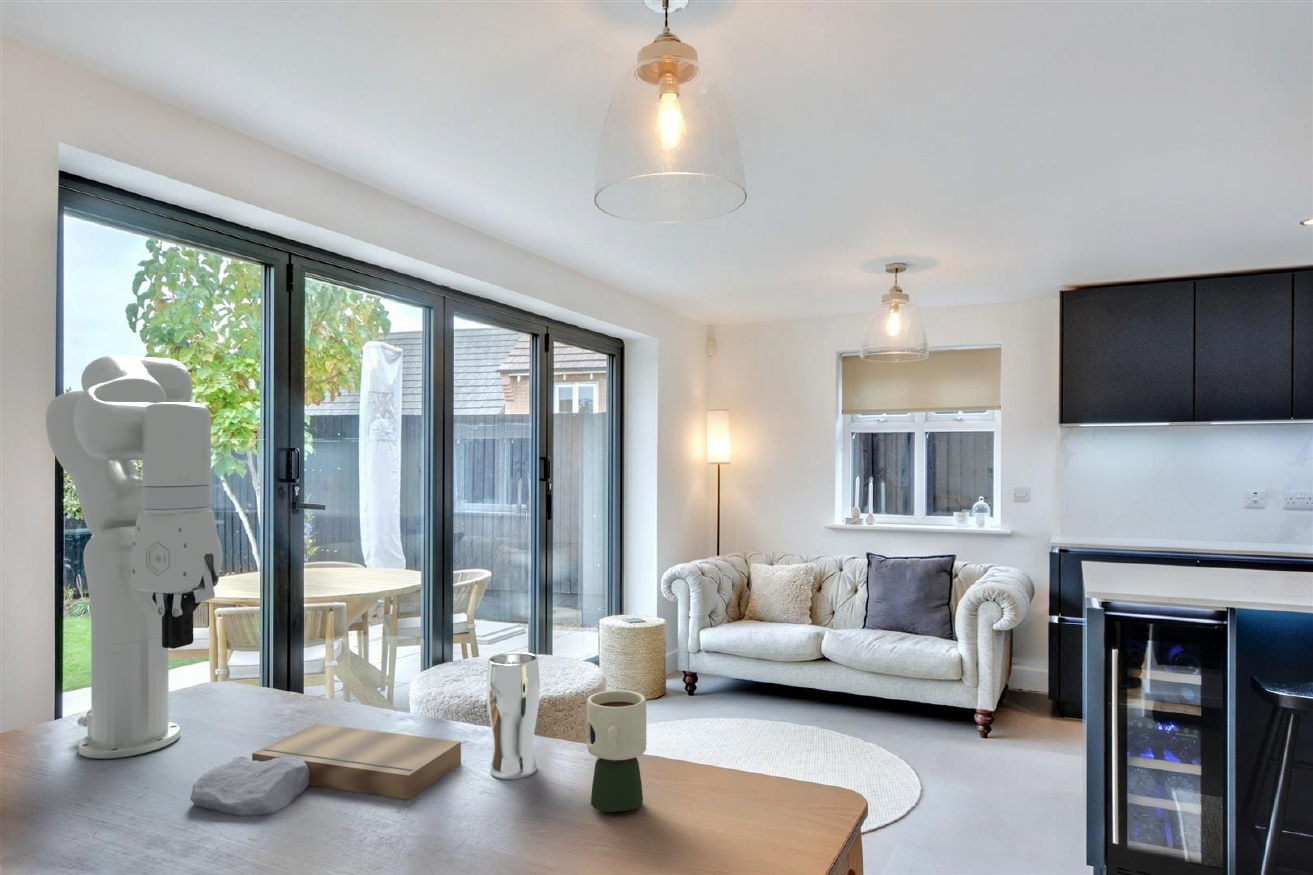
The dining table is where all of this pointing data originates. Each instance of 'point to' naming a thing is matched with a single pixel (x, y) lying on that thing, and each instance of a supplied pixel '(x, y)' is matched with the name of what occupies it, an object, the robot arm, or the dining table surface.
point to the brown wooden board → (367, 759)
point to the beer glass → (513, 713)
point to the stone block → (251, 785)
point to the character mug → (616, 748)
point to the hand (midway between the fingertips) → (177, 645)
